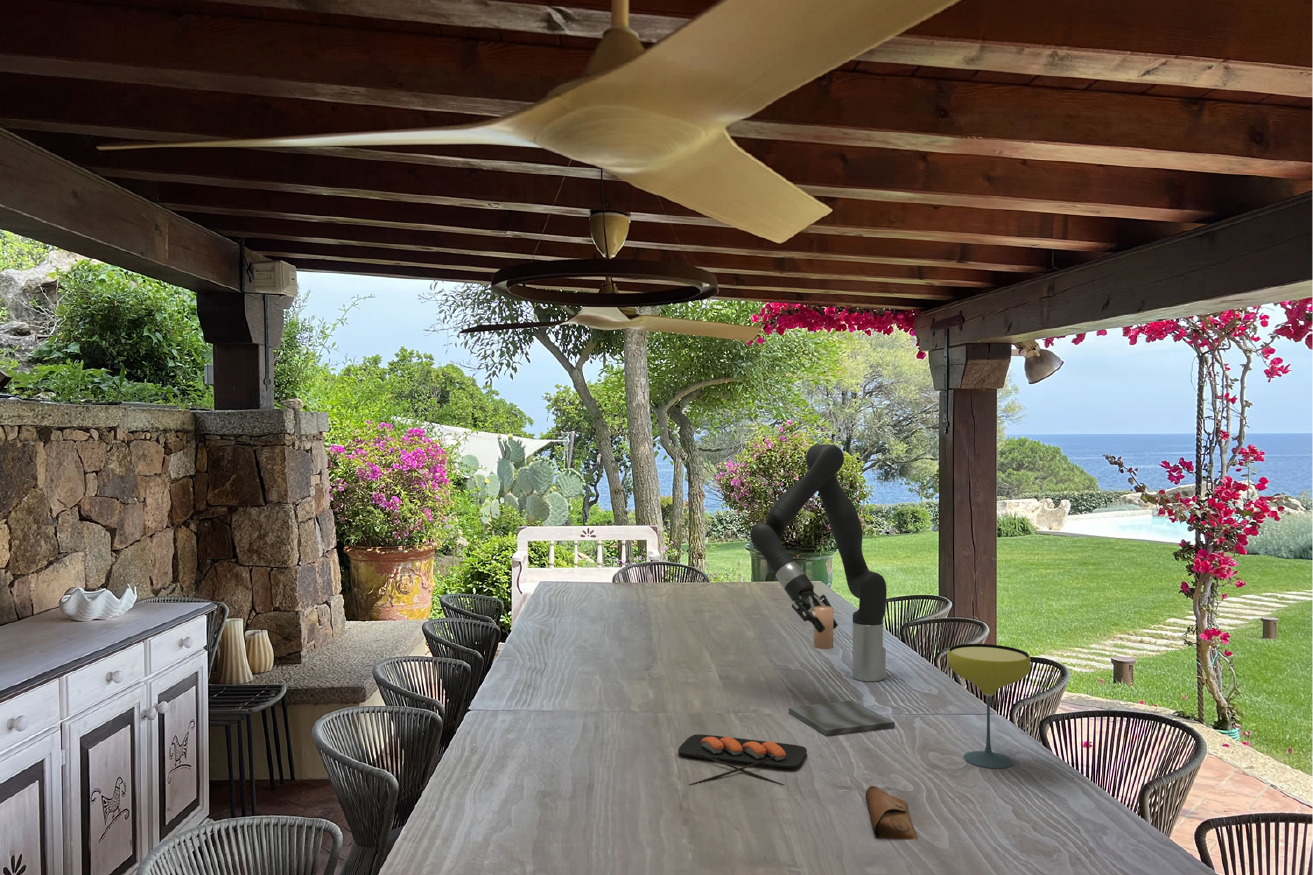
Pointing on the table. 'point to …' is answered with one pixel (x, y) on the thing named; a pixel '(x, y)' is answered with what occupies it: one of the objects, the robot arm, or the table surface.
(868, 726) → the charcoal board
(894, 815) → the sunglasses case
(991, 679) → the cocktail glass
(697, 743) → the sushi plate
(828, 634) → the tan dome-topped cylinder
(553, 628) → the table surface
